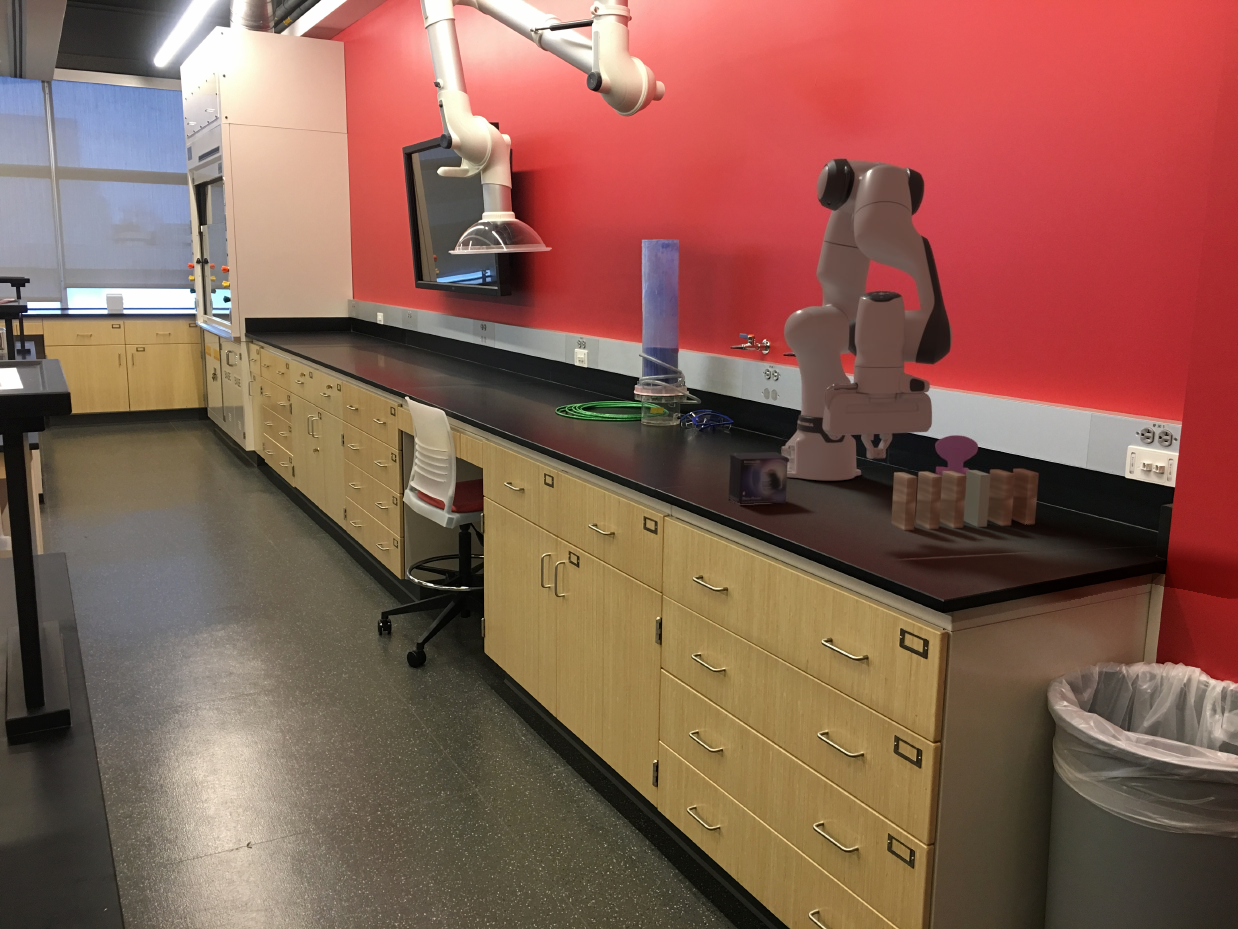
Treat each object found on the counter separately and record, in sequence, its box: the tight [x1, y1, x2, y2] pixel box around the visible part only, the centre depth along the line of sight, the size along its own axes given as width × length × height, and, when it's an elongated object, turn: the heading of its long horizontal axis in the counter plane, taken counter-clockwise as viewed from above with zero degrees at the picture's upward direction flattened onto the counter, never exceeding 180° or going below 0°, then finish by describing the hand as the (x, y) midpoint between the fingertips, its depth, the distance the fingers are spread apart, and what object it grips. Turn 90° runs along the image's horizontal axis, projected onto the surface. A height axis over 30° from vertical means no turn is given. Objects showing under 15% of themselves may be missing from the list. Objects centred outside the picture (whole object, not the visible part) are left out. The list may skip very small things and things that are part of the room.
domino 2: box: [915, 471, 942, 530], centre depth 185 cm, size 2×5×10 cm, turn 12°
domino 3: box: [939, 471, 967, 529], centre depth 186 cm, size 2×5×10 cm, turn 12°
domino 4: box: [964, 469, 991, 528], centre depth 187 cm, size 2×5×10 cm, turn 12°
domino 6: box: [1011, 468, 1040, 525], centre depth 189 cm, size 2×5×10 cm, turn 12°
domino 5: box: [987, 468, 1015, 527], centre depth 188 cm, size 2×5×10 cm, turn 12°
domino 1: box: [890, 471, 918, 531], centre depth 184 cm, size 2×5×10 cm, turn 12°
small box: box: [728, 451, 788, 504], centre depth 203 cm, size 11×6×10 cm, turn 106°
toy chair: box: [934, 434, 979, 505], centre depth 204 cm, size 8×9×15 cm
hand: (875, 458), depth 181 cm, fingers closed
